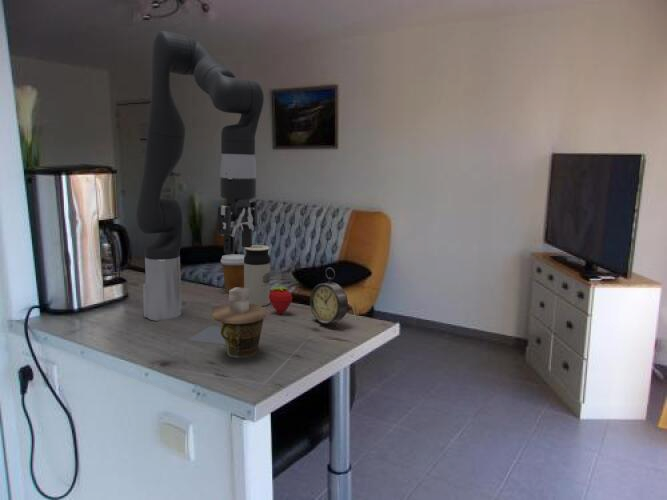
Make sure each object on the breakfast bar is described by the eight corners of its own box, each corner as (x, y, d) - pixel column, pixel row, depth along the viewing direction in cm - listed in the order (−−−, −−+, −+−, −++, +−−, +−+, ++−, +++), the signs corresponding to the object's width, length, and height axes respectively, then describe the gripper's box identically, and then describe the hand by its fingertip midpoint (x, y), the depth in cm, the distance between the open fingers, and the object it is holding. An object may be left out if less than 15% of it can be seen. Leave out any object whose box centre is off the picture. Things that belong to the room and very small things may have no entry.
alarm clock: (308, 322, 141) (309, 265, 138) (321, 318, 145) (323, 263, 142) (337, 332, 134) (339, 272, 131) (350, 327, 138) (352, 269, 135)
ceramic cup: (235, 344, 123) (235, 304, 122) (271, 351, 120) (271, 310, 118) (202, 363, 112) (202, 320, 110) (241, 371, 108) (241, 326, 106)
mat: (187, 342, 124) (187, 339, 124) (210, 328, 134) (210, 326, 134) (228, 347, 121) (228, 345, 121) (248, 333, 131) (248, 330, 131)
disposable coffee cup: (236, 296, 165) (235, 260, 163) (215, 291, 170) (214, 256, 168) (255, 290, 173) (255, 256, 171) (234, 286, 178) (234, 252, 176)
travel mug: (238, 303, 157) (238, 246, 154) (258, 298, 163) (258, 243, 160) (255, 308, 152) (255, 250, 149) (275, 303, 158) (275, 247, 155)
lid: (201, 320, 110) (201, 293, 109) (227, 305, 121) (227, 281, 120) (252, 326, 106) (252, 299, 105) (274, 310, 118) (274, 285, 117)
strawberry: (282, 319, 143) (282, 285, 141) (264, 314, 148) (264, 280, 146) (296, 315, 147) (297, 282, 146) (278, 309, 152) (279, 277, 150)
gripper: (237, 174, 116) (237, 244, 119) (205, 176, 102) (206, 254, 105) (267, 175, 114) (267, 246, 117) (239, 177, 100) (239, 257, 103)
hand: (238, 250), depth 111 cm, fingers open, 8 cm apart
